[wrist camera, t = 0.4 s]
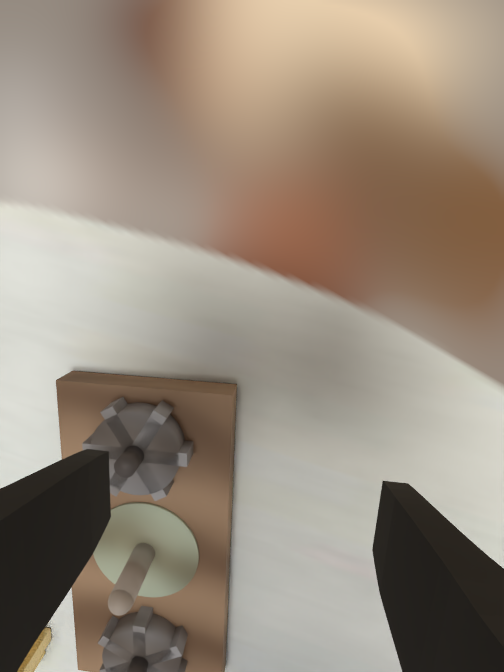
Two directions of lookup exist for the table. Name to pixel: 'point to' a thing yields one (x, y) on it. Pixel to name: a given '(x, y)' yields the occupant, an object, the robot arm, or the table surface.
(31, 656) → the brass gear
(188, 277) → the table surface
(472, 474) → the table surface
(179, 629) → the gear board
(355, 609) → the table surface
